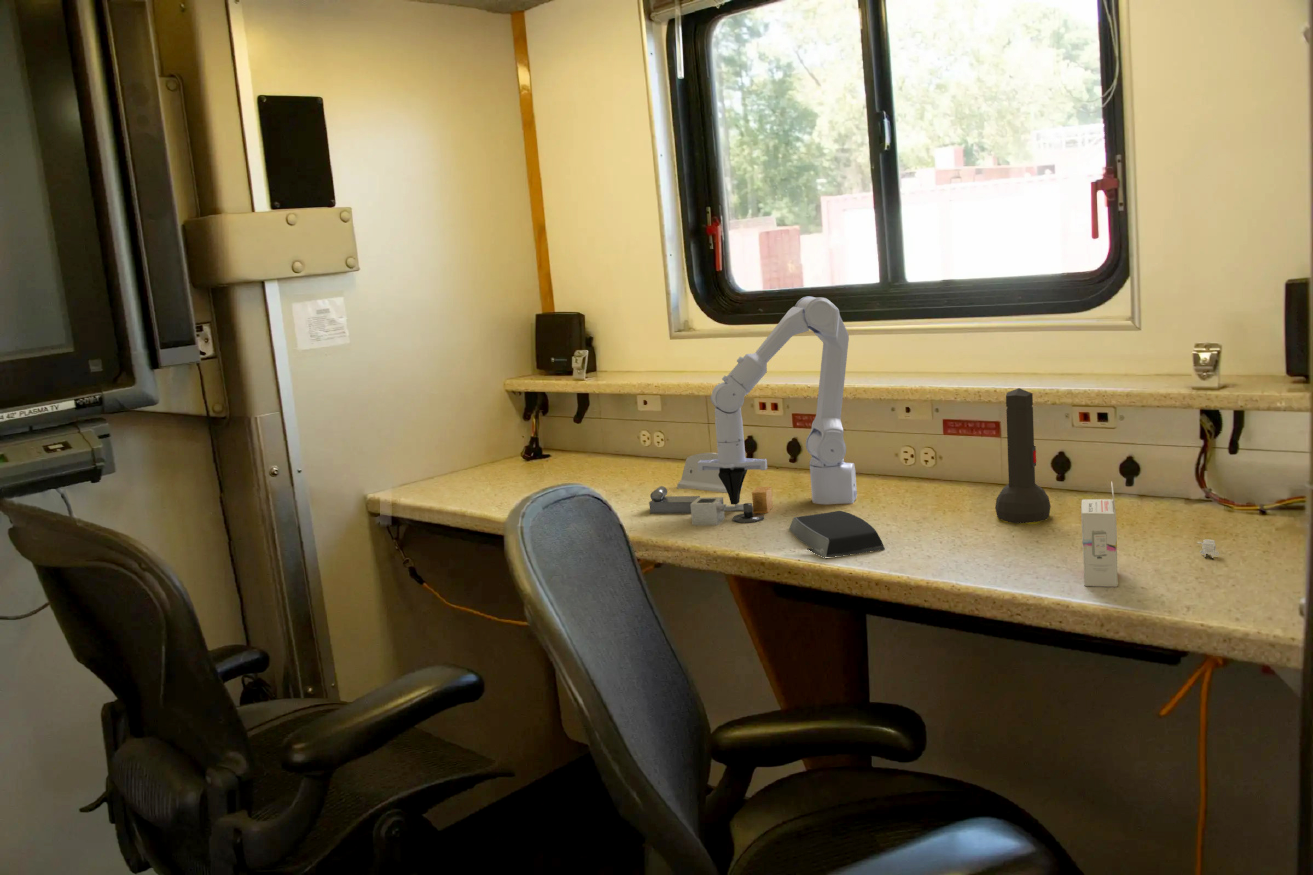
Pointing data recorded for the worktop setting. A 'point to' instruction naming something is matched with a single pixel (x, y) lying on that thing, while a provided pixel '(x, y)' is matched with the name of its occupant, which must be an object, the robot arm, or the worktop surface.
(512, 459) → the worktop surface
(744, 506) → the post
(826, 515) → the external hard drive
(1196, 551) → the worktop surface
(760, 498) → the chain slider
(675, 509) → the chain housing
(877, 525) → the worktop surface
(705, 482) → the light grey piece
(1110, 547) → the ink cartridge box
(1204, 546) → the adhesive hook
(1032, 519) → the flashlight
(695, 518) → the grey recessed block
